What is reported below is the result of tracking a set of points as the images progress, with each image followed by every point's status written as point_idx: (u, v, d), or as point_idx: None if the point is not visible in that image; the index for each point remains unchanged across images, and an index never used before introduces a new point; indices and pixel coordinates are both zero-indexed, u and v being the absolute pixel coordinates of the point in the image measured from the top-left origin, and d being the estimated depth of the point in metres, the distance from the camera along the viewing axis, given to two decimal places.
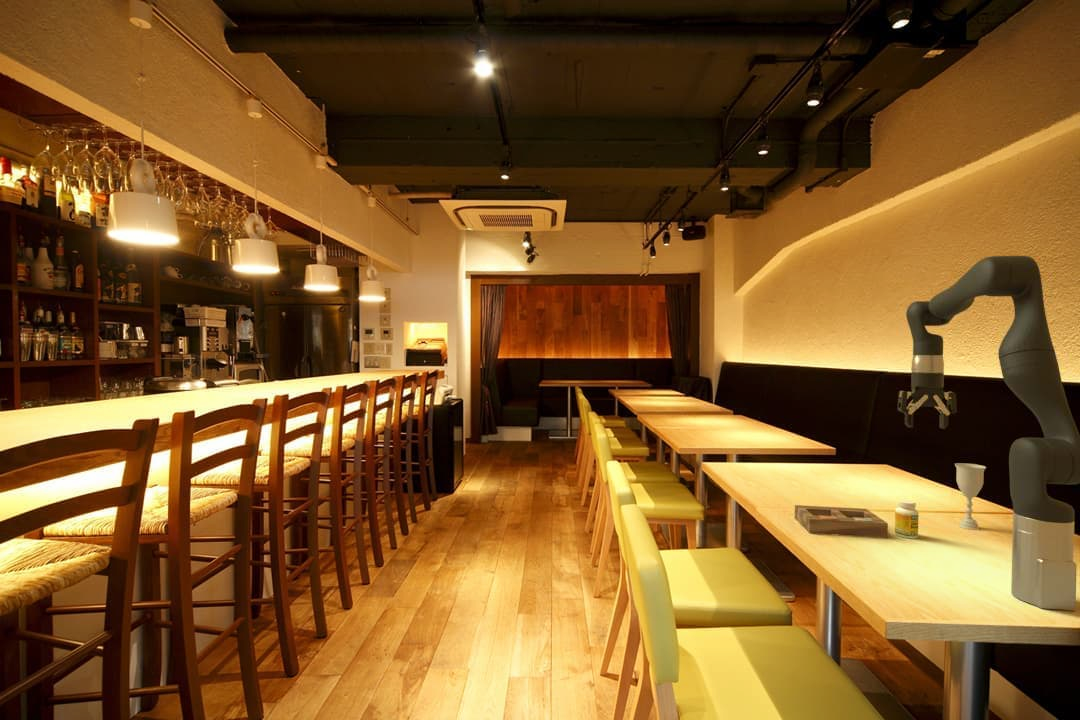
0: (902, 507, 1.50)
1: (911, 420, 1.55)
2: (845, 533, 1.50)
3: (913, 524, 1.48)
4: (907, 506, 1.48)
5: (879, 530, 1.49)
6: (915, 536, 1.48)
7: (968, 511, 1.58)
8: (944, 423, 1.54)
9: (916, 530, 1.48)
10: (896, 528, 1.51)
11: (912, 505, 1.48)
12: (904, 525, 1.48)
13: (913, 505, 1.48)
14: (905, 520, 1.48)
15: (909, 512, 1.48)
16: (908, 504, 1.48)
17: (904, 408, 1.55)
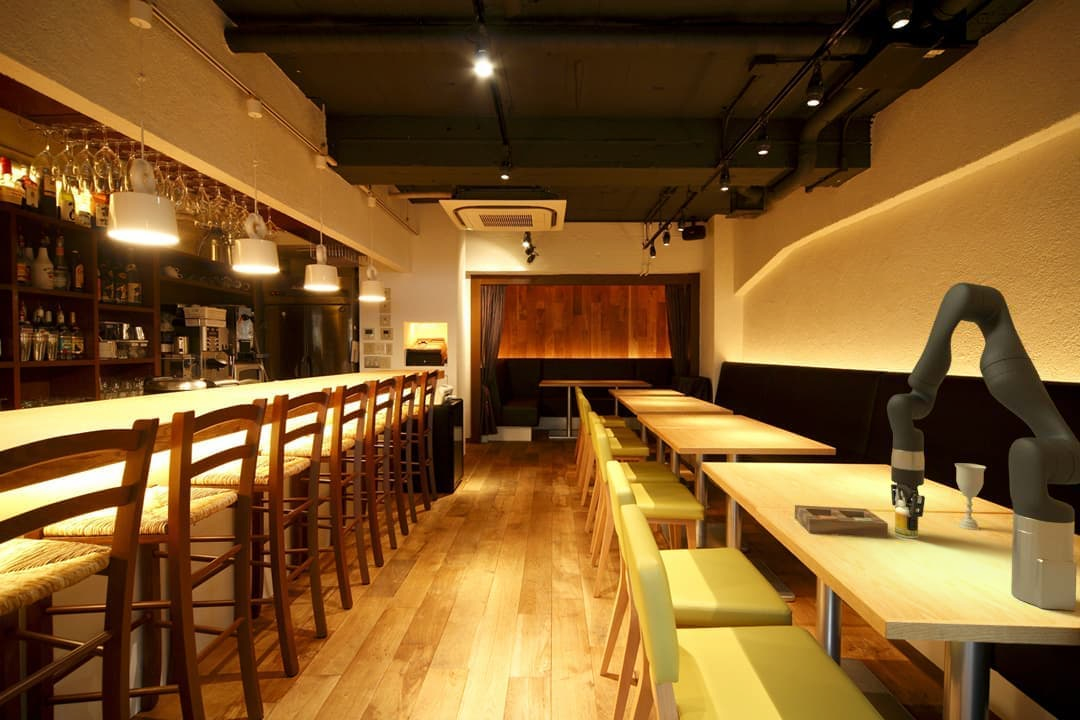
0: (902, 507, 1.50)
1: (916, 523, 1.47)
2: (845, 533, 1.50)
3: None
4: None
5: (879, 530, 1.49)
6: (915, 536, 1.48)
7: (968, 511, 1.58)
8: None
9: None
10: (896, 528, 1.51)
11: None
12: (904, 525, 1.48)
13: None
14: (905, 520, 1.48)
15: None
16: None
17: None
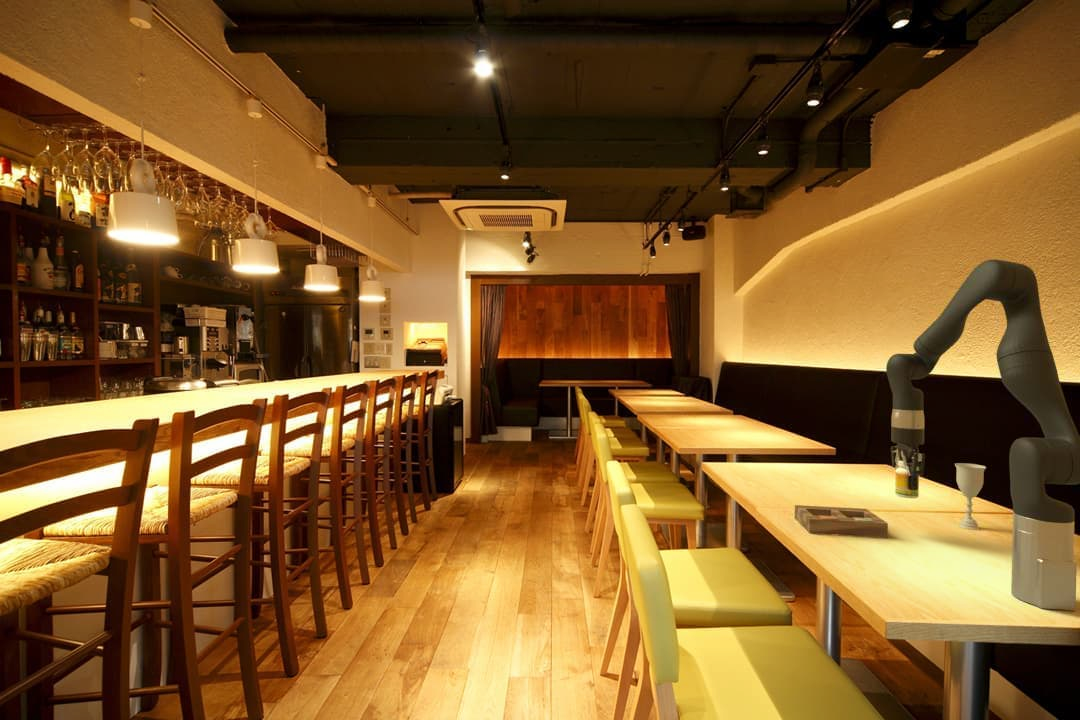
0: (902, 468, 1.49)
1: None
2: (845, 533, 1.50)
3: None
4: None
5: (879, 530, 1.49)
6: (916, 496, 1.47)
7: (968, 511, 1.58)
8: None
9: (917, 490, 1.47)
10: (896, 488, 1.50)
11: None
12: (904, 484, 1.48)
13: None
14: (906, 480, 1.48)
15: None
16: None
17: None
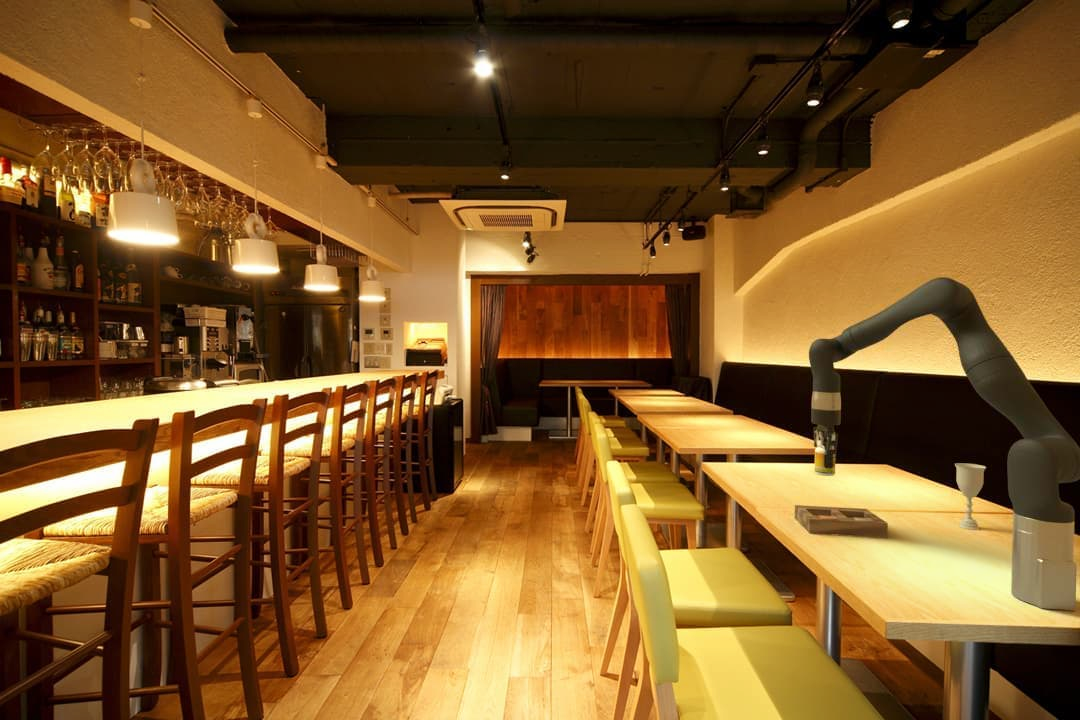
0: (820, 447, 1.57)
1: (832, 461, 1.54)
2: (845, 533, 1.50)
3: None
4: None
5: (879, 530, 1.49)
6: (832, 473, 1.55)
7: (968, 511, 1.58)
8: None
9: (833, 468, 1.55)
10: (815, 467, 1.58)
11: None
12: (821, 463, 1.56)
13: None
14: (822, 458, 1.56)
15: None
16: None
17: None
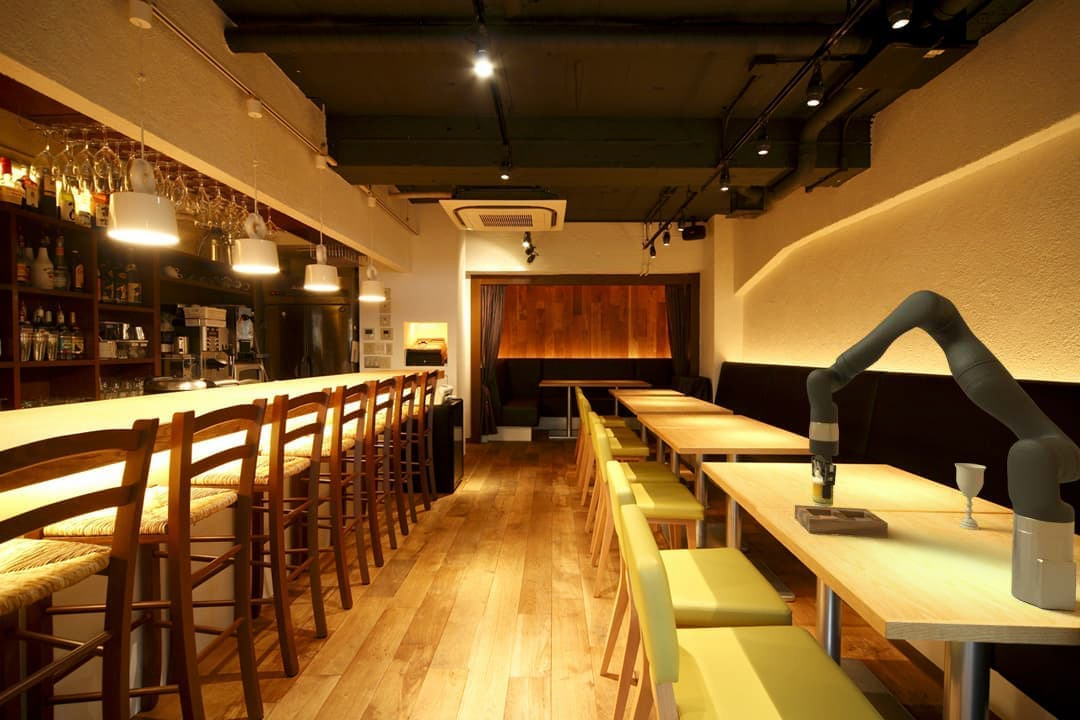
0: (818, 477, 1.57)
1: (830, 491, 1.54)
2: (845, 533, 1.50)
3: None
4: None
5: (879, 530, 1.49)
6: (830, 504, 1.55)
7: (968, 511, 1.58)
8: None
9: (831, 498, 1.55)
10: (813, 497, 1.58)
11: None
12: (819, 493, 1.56)
13: None
14: (820, 489, 1.55)
15: None
16: None
17: None
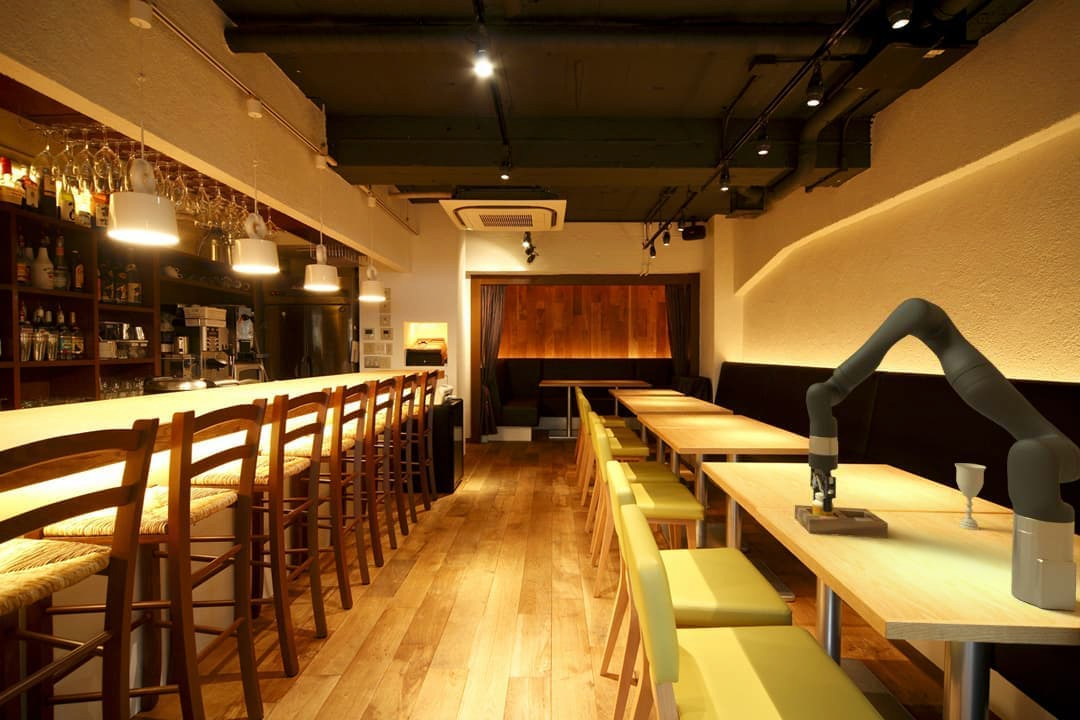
0: (818, 500, 1.57)
1: (831, 504, 1.53)
2: (845, 533, 1.50)
3: None
4: (822, 498, 1.55)
5: (879, 530, 1.49)
6: None
7: (968, 511, 1.58)
8: None
9: None
10: None
11: None
12: None
13: None
14: (820, 512, 1.55)
15: None
16: None
17: None
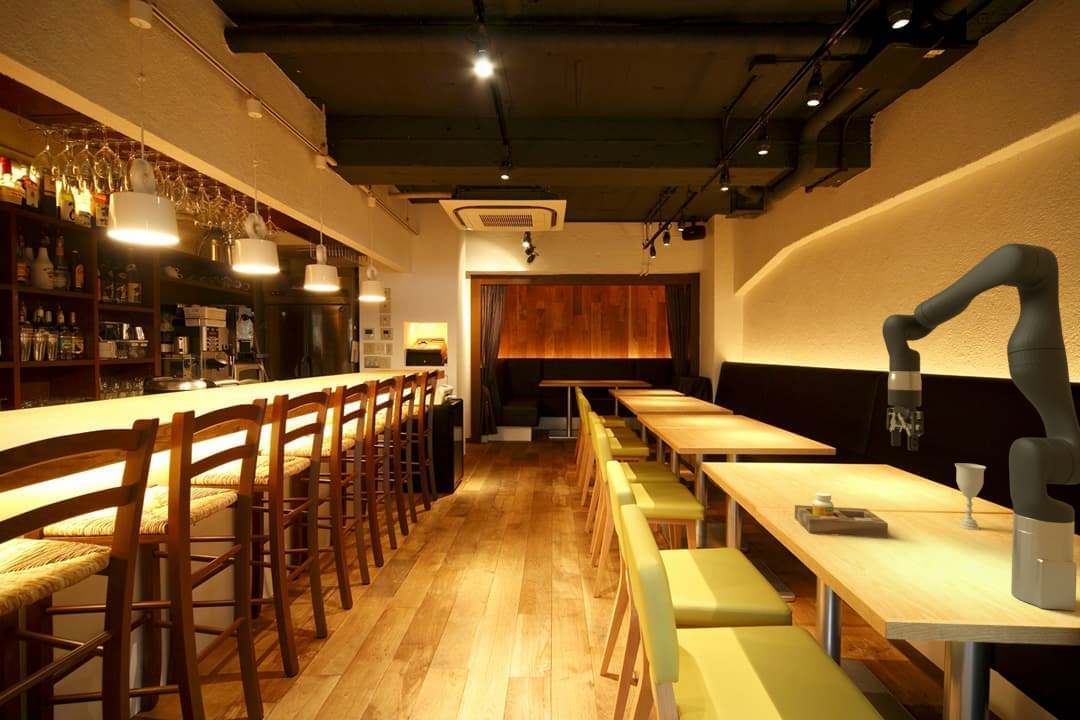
0: (818, 500, 1.57)
1: None
2: (845, 533, 1.50)
3: None
4: (822, 498, 1.55)
5: (879, 530, 1.49)
6: None
7: (968, 511, 1.58)
8: (900, 440, 1.51)
9: None
10: None
11: (827, 498, 1.55)
12: None
13: (828, 497, 1.55)
14: (820, 512, 1.55)
15: (824, 504, 1.55)
16: (823, 496, 1.55)
17: None
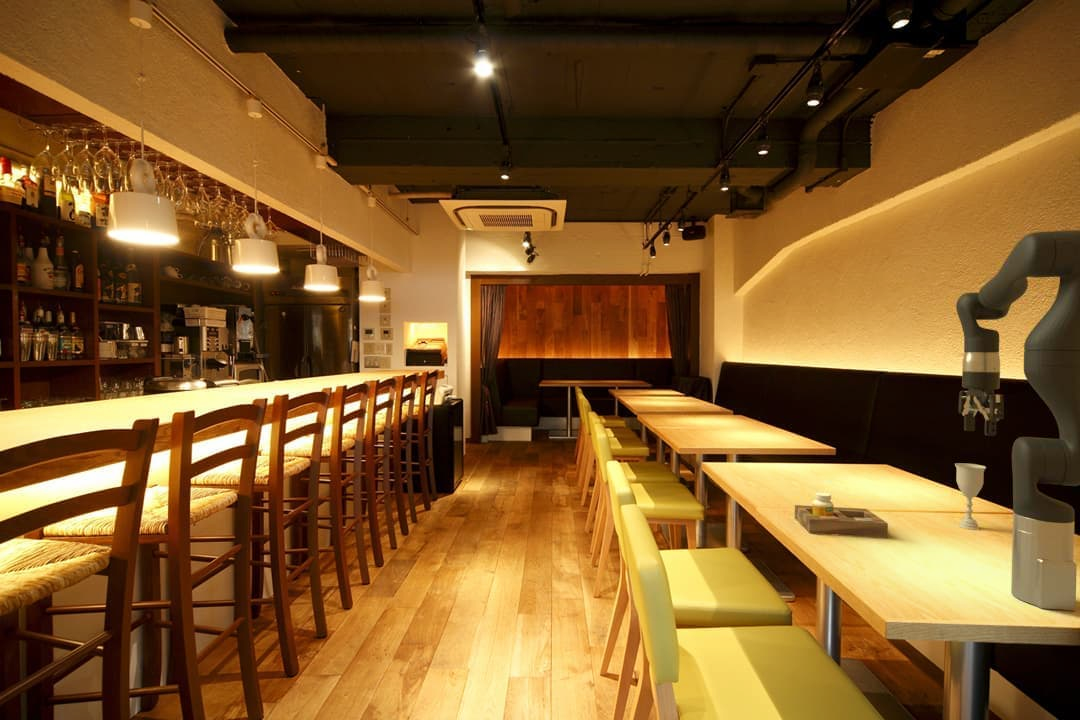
0: (818, 500, 1.57)
1: None
2: (845, 533, 1.50)
3: None
4: (822, 498, 1.55)
5: (879, 530, 1.49)
6: None
7: (968, 511, 1.58)
8: None
9: None
10: None
11: (826, 498, 1.55)
12: None
13: (828, 497, 1.55)
14: (820, 512, 1.55)
15: (824, 504, 1.55)
16: (823, 496, 1.55)
17: None
